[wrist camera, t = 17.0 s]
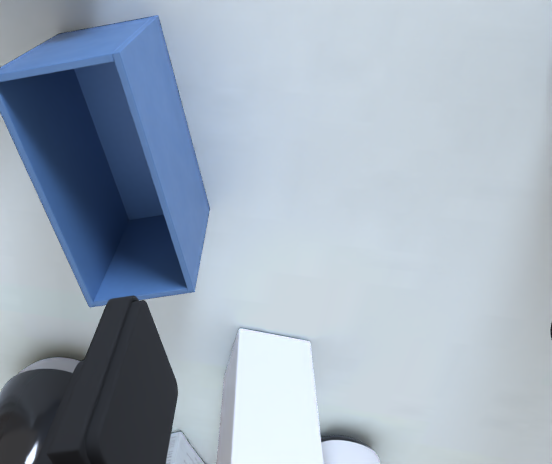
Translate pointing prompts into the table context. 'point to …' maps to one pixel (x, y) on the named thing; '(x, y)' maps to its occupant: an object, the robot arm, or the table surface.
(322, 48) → the table surface
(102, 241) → the blue bin
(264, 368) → the milk carton
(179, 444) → the cosmetic box
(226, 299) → the table surface
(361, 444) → the spread jar
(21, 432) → the pump dispenser
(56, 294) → the table surface
